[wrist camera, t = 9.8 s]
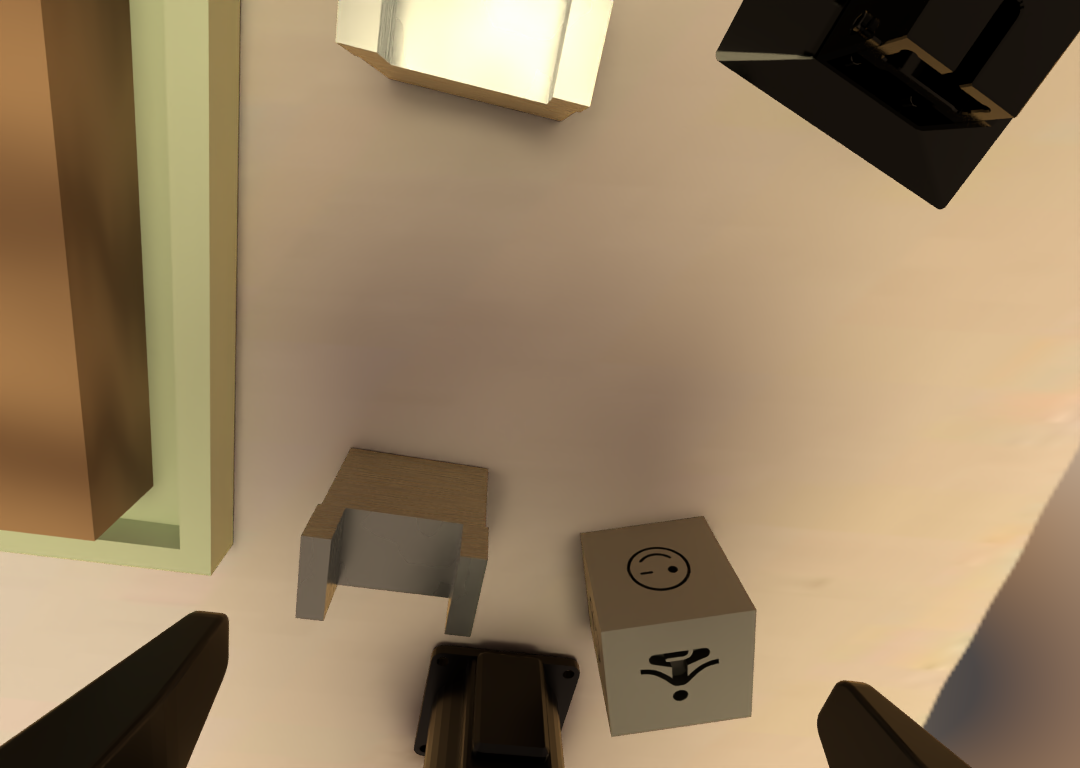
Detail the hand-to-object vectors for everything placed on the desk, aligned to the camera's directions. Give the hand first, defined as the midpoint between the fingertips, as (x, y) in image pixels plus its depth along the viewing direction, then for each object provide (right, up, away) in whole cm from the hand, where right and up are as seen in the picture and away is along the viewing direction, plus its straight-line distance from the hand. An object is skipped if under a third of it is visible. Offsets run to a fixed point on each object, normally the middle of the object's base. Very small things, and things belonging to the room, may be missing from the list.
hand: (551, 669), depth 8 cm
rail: (-13, +9, +8) cm, 18 cm away
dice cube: (+4, -4, +15) cm, 16 cm away
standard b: (-2, +14, +7) cm, 16 cm away
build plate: (+10, +14, +9) cm, 20 cm away
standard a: (-5, 0, +13) cm, 14 cm away
